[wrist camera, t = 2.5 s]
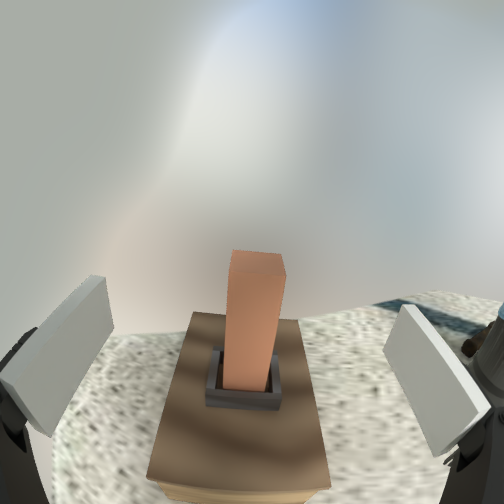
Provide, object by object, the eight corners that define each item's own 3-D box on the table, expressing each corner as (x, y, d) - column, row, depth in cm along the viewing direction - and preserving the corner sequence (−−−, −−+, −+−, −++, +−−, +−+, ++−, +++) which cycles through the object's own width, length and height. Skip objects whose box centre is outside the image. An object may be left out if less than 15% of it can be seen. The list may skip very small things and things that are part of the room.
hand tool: (469, 361, 39) (479, 344, 37) (458, 350, 43) (468, 334, 41) (497, 339, 45) (505, 325, 43) (488, 331, 48) (496, 317, 46)
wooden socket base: (193, 356, 41) (191, 299, 36) (287, 363, 41) (300, 308, 37) (162, 500, 18) (137, 468, 13) (304, 508, 18) (339, 479, 14)
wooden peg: (225, 368, 28) (232, 249, 22) (261, 371, 28) (280, 254, 23) (222, 396, 24) (228, 271, 19) (262, 398, 24) (286, 275, 19)
